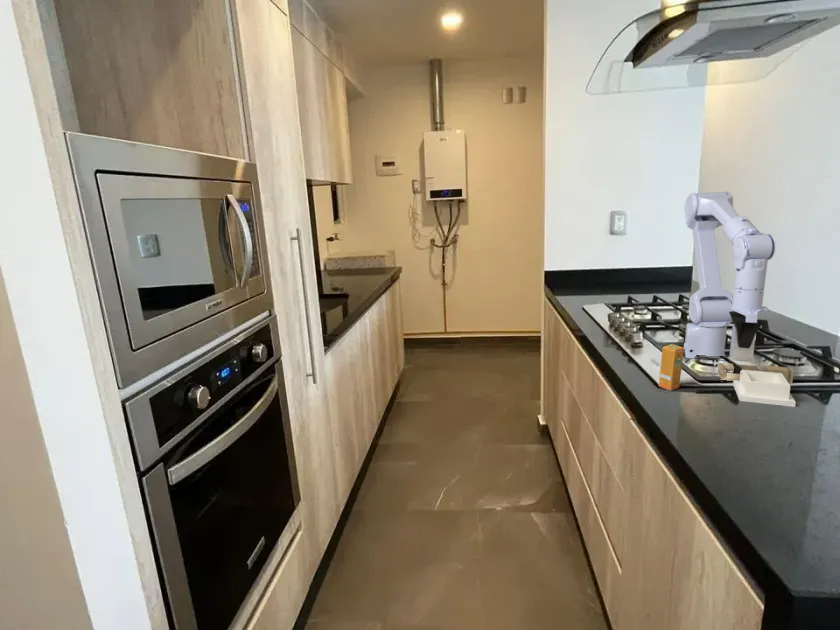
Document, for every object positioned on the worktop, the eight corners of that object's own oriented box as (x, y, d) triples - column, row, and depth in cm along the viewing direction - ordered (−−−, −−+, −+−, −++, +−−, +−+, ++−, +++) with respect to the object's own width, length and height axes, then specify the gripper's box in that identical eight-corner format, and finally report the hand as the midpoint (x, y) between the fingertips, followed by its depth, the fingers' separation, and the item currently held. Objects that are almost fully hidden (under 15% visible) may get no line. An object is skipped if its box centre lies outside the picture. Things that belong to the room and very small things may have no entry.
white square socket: (739, 401, 102) (741, 383, 101) (732, 384, 111) (734, 367, 110) (795, 407, 98) (797, 388, 97) (783, 389, 107) (786, 372, 106)
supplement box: (671, 391, 109) (674, 349, 107) (658, 386, 112) (661, 345, 110) (681, 388, 110) (684, 346, 108) (667, 383, 113) (670, 343, 111)
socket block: (721, 381, 113) (721, 373, 112) (717, 370, 120) (717, 362, 119) (762, 385, 109) (763, 377, 109) (755, 373, 116) (756, 365, 116)
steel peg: (731, 360, 112) (735, 327, 110) (729, 355, 116) (733, 323, 114) (752, 362, 111) (756, 328, 109) (749, 356, 114) (753, 324, 112)
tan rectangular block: (765, 381, 111) (767, 369, 110) (763, 377, 113) (764, 365, 113) (792, 383, 109) (793, 371, 108) (789, 380, 111) (791, 367, 110)
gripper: (777, 295, 101) (769, 356, 104) (763, 282, 114) (756, 337, 117) (738, 293, 104) (731, 353, 107) (728, 281, 117) (723, 335, 120)
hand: (742, 344), depth 112 cm, fingers closed on steel peg, 4 cm apart
